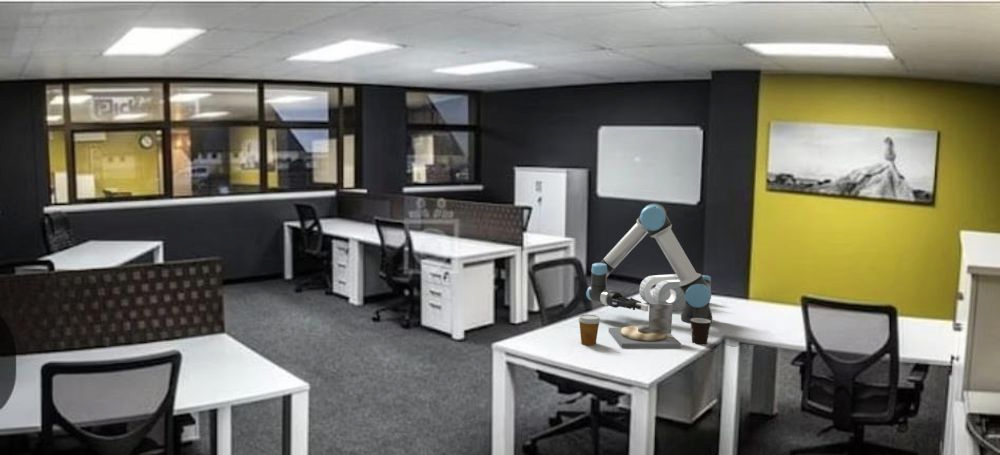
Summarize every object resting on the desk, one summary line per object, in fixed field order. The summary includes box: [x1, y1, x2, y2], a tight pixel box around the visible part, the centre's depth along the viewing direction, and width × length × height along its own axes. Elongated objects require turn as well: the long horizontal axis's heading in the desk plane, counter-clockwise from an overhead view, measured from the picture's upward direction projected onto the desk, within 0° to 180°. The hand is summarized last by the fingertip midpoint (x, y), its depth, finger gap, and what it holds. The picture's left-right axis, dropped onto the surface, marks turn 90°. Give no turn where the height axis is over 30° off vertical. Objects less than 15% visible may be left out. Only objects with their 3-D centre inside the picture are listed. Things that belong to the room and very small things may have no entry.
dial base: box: [608, 327, 682, 349], centre depth 320 cm, size 26×26×2 cm
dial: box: [621, 303, 673, 341], centre depth 319 cm, size 22×20×14 cm
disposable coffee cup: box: [578, 313, 601, 346], centre depth 312 cm, size 10×10×12 cm
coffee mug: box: [690, 318, 711, 346], centre depth 318 cm, size 12×9×10 cm
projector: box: [638, 273, 686, 311], centre depth 390 cm, size 35×19×15 cm, turn 110°
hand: (647, 308), depth 328 cm, fingers closed
